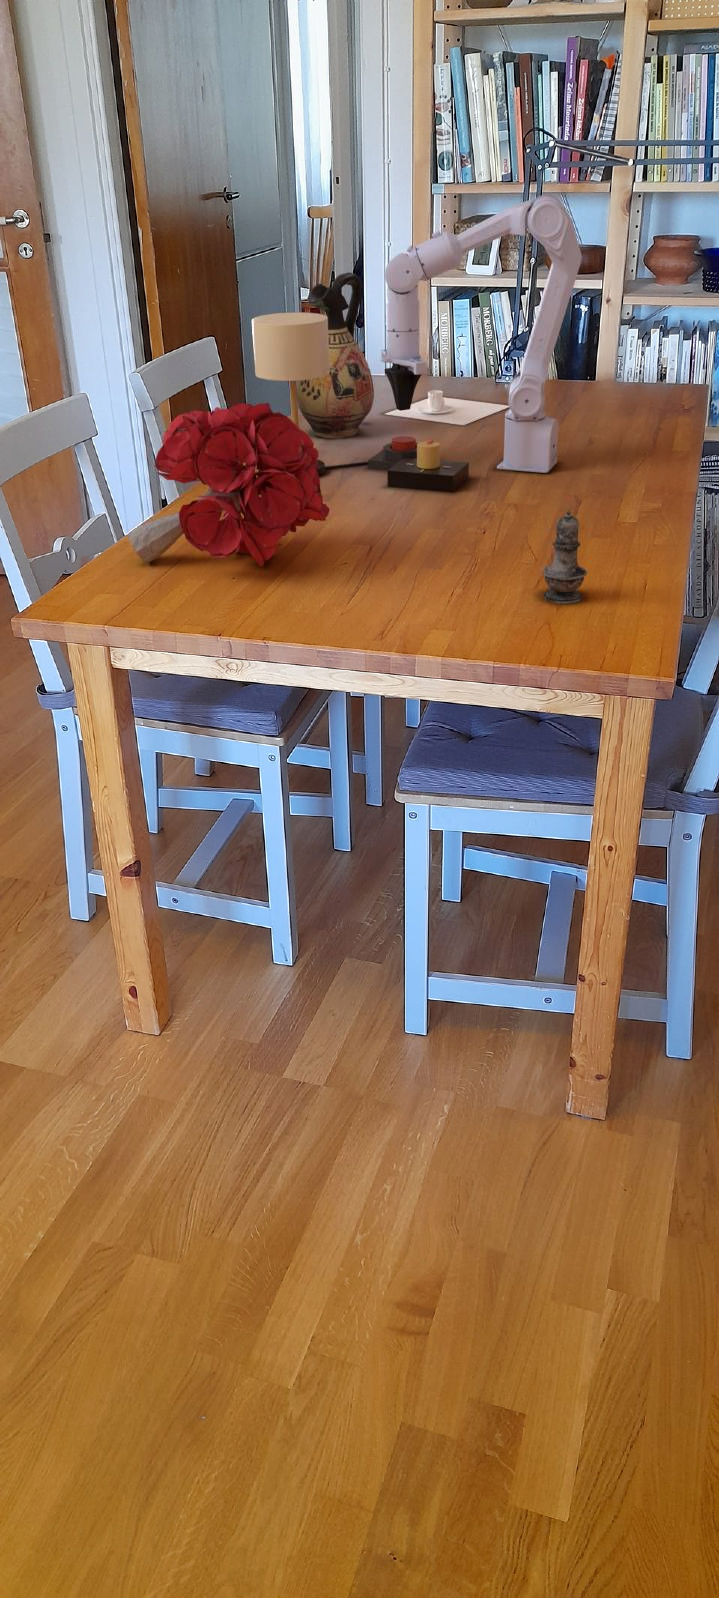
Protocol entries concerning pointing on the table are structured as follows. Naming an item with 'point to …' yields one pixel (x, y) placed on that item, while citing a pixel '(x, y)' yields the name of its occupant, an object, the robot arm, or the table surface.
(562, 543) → the salt shaker
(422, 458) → the dimmer knob
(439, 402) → the teacup and saucer
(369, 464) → the switch box
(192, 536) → the bouquet
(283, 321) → the table lamp
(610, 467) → the table surface
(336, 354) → the ceramic jug
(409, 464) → the dimmer panel
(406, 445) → the lamp switch
